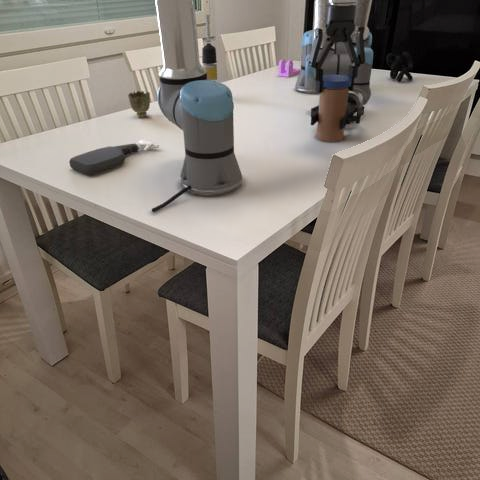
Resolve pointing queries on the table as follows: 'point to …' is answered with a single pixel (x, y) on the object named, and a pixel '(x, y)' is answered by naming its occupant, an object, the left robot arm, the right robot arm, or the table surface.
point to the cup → (140, 102)
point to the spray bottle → (106, 157)
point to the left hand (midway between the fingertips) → (334, 90)
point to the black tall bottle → (209, 56)
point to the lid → (336, 81)
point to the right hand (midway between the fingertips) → (326, 122)
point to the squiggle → (399, 66)
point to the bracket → (287, 69)
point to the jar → (331, 113)
